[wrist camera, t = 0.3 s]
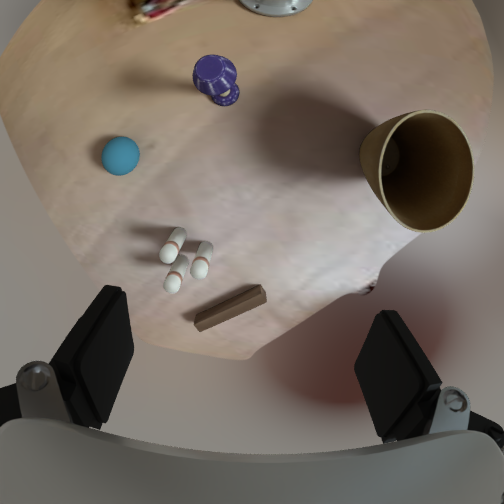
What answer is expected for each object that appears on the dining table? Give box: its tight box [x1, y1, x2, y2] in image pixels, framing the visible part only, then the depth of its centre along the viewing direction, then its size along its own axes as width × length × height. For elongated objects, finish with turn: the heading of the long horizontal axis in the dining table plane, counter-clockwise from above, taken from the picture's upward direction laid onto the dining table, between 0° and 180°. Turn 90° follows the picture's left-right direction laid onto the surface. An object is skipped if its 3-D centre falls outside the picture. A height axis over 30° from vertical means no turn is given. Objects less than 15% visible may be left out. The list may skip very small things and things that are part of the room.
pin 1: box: [163, 255, 189, 293], centre depth 45 cm, size 2×2×8 cm
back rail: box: [194, 284, 267, 332], centre depth 51 cm, size 2×14×3 cm, turn 119°
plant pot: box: [359, 110, 474, 233], centre depth 35 cm, size 15×15×16 cm
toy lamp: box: [193, 55, 239, 106], centre depth 30 cm, size 5×5×17 cm
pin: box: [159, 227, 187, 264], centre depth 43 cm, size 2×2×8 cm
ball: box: [102, 137, 140, 176], centre depth 38 cm, size 6×6×6 cm
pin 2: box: [190, 241, 213, 279], centre depth 44 cm, size 2×2×8 cm
